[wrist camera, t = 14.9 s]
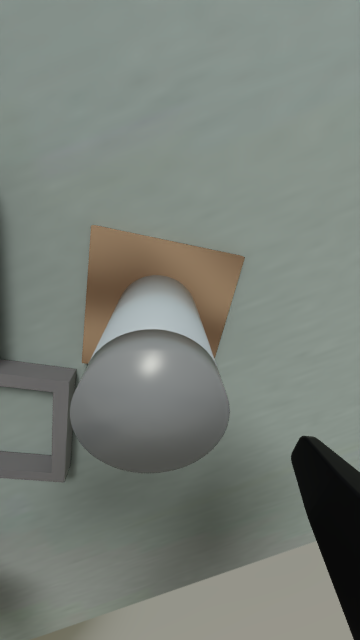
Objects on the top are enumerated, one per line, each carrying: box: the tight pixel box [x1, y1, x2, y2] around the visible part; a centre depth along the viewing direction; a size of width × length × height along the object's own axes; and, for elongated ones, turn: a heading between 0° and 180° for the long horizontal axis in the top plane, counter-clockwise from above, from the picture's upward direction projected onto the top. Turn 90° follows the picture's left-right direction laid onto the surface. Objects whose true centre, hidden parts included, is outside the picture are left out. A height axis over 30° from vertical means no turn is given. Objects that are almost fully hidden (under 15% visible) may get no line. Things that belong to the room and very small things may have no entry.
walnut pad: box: [82, 225, 245, 364], centre depth 17 cm, size 9×9×1 cm
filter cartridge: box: [70, 275, 230, 473], centre depth 12 cm, size 5×5×9 cm
